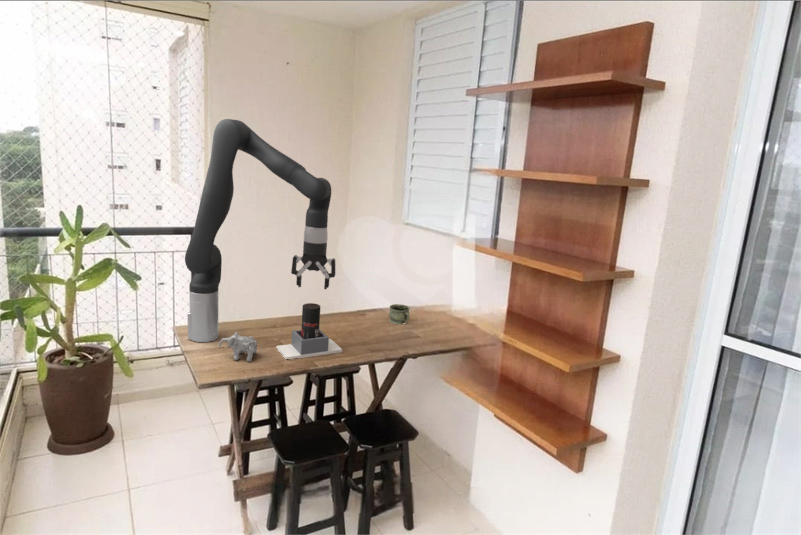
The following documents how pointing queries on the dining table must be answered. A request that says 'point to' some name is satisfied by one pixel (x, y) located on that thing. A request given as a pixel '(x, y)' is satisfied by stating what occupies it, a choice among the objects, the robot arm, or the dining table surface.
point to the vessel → (399, 314)
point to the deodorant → (310, 321)
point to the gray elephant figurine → (241, 345)
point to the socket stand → (308, 346)
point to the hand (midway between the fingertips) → (312, 287)
